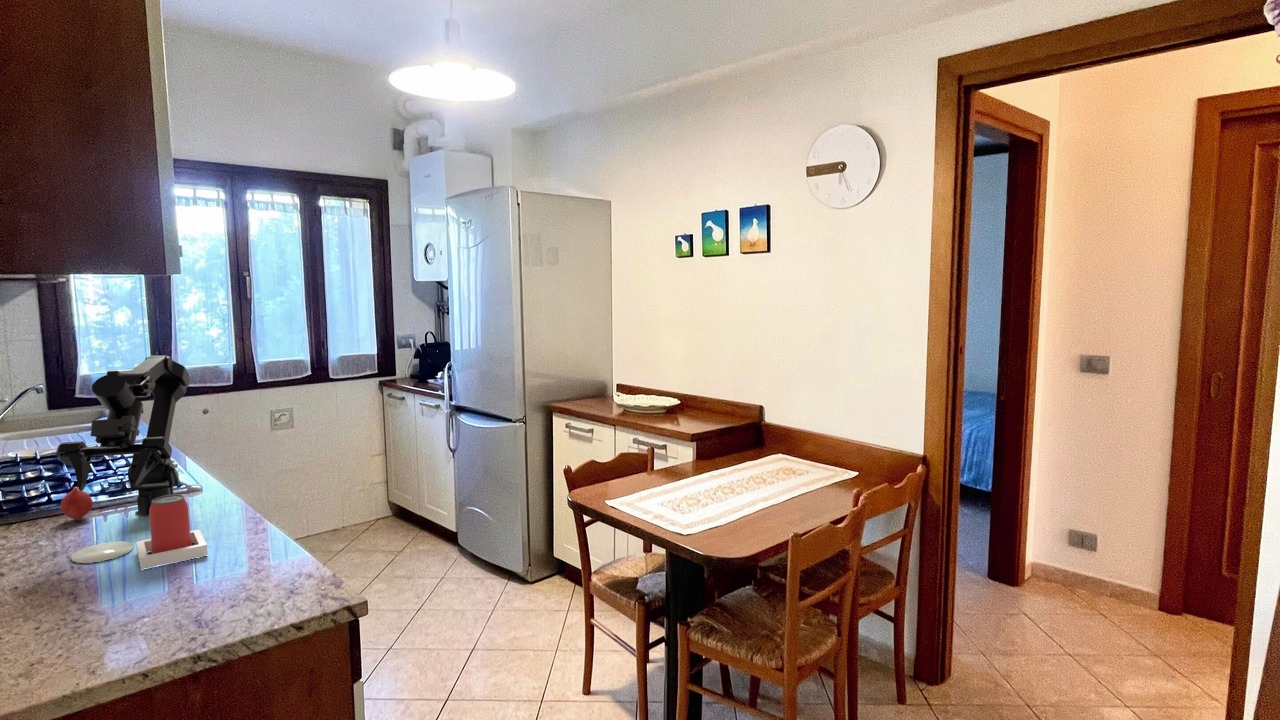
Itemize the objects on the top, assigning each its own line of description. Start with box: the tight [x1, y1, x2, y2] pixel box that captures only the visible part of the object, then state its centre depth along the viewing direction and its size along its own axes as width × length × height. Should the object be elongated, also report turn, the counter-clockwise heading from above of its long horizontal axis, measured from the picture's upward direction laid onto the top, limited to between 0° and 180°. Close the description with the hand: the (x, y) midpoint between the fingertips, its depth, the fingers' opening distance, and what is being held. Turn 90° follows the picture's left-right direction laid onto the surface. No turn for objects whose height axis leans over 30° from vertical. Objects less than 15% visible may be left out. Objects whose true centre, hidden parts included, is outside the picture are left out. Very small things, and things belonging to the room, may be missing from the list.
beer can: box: [148, 493, 192, 554], centre depth 138 cm, size 7×7×12 cm
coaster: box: [71, 540, 134, 564], centre depth 139 cm, size 10×10×1 cm
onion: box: [59, 486, 94, 521], centre depth 158 cm, size 6×6×8 cm
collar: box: [135, 529, 209, 570], centre depth 138 cm, size 11×11×2 cm
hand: (108, 487), depth 138 cm, fingers open, 9 cm apart
